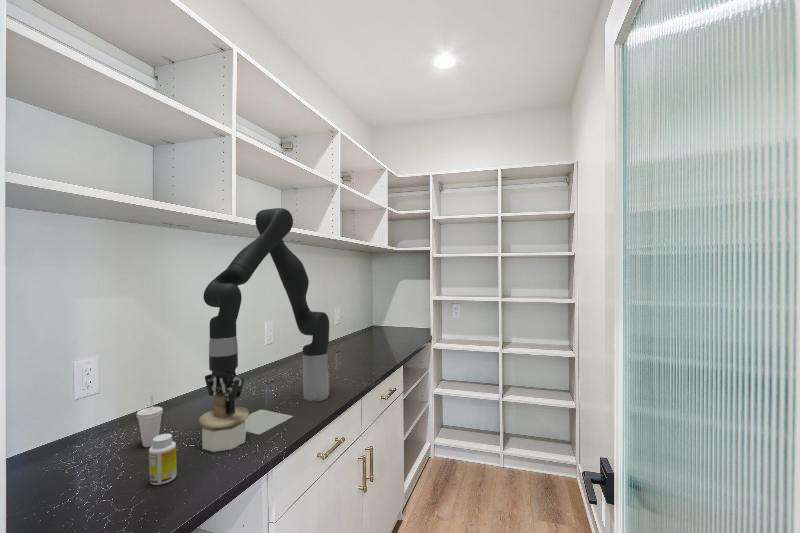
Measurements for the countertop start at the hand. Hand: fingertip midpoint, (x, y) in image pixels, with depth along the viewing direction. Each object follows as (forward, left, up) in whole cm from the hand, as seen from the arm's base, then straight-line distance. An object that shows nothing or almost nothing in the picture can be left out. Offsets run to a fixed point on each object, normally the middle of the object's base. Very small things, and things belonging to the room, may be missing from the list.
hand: (224, 411), depth 109 cm
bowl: (0, 0, -9) cm, 9 cm away
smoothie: (+9, -20, -10) cm, 24 cm away
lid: (0, 0, -2) cm, 2 cm away
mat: (-15, -2, -9) cm, 18 cm away
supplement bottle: (+19, +2, -10) cm, 21 cm away
